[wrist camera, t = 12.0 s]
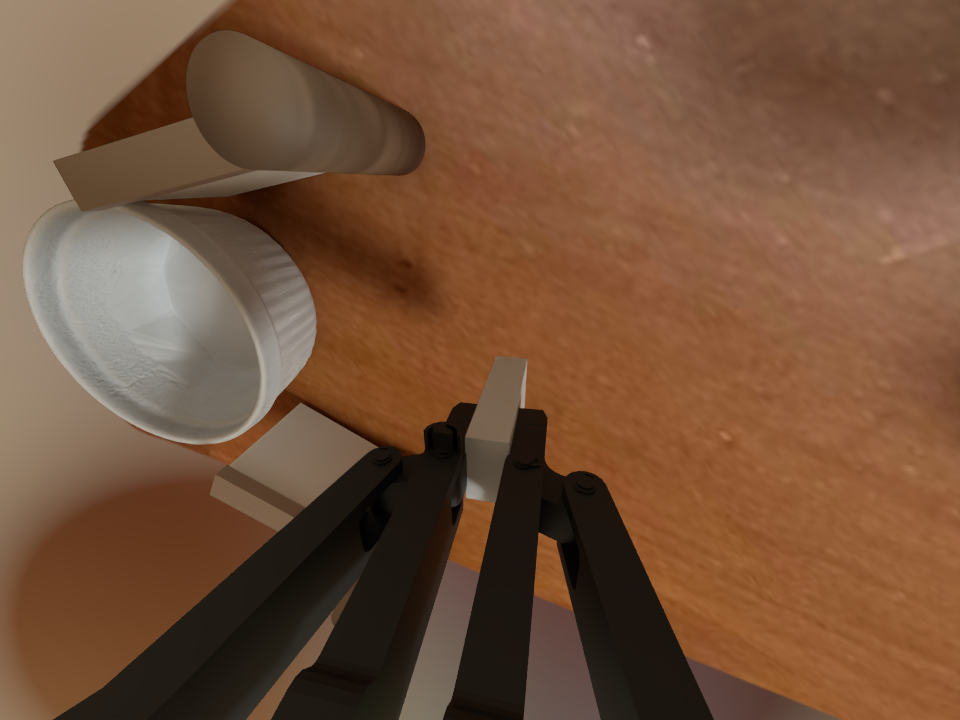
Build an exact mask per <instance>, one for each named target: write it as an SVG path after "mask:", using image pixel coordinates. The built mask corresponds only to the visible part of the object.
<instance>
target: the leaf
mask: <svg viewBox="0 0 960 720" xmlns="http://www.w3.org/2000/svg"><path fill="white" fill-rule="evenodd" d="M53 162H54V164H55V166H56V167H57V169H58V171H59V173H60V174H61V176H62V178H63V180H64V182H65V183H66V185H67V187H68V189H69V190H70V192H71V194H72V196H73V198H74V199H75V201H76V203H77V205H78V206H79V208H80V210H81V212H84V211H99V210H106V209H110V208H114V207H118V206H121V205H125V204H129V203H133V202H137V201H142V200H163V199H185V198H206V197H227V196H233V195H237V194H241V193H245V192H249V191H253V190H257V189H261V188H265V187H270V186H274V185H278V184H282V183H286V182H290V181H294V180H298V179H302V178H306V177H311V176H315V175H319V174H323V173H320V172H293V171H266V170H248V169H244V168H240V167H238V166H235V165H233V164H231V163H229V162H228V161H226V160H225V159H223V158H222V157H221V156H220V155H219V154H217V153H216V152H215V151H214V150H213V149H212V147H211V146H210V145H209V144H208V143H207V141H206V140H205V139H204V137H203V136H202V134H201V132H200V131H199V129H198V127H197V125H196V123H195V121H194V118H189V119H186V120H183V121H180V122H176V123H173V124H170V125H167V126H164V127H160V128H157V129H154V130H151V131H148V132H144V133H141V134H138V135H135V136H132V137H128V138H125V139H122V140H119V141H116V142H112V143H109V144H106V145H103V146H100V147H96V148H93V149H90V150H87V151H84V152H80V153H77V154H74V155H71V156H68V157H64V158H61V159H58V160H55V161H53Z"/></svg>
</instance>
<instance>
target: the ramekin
mask: <svg viewBox="0 0 960 720" xmlns="http://www.w3.org/2000/svg"><path fill="white" fill-rule="evenodd" d="M22 269H23V281H24V286H25V292H26V296H27V299H28V303H29V306H30V309H31V311H32V314H33V316H34V319H35V321H36V323H37V325H38V327H39V329H40V331H41V333H42V335H43V337H44V338H45V340H46V342H47V344H48V345H49V347H50V348H51V350H52V351H53V353H54V354H55V355H56V357H57V358H58V360H59V361H60V362H61V363H62V365H63V366H64V367H65V369H66V370H67V371H68V372H69V373H70V374H71V375H72V376H73V377H74V379H75V380H76V381H77V382H78V383H79V384H80V385H81V386H82V387H83V388H84V389H85V390H87V392H88V393H90V394H91V395H92V396H93V397H94V398H95V399H97V400H98V401H99V402H100V403H101V404H103V405H104V406H105V407H107V408H108V409H109V410H111V411H112V412H114V413H115V414H117V415H118V416H120V417H121V418H123V419H125V420H126V421H128V422H129V423H131V424H133V425H135V426H137V427H139V428H141V429H143V430H145V431H147V432H150V433H152V434H155V435H157V436H160V437H163V438H166V439H169V440H173V441H177V442H182V443H189V444H215V443H221V442H225V441H228V440H231V439H233V438H236V437H237V436H239V435H241V434H243V433H244V432H245V431H247V430H248V429H249V428H251V427H252V426H254V425H255V424H256V423H257V422H259V421H260V420H261V419H262V418H263V417H264V416H265V415H266V414H267V413H268V411H269V410H270V408H271V407H272V405H273V403H274V401H275V399H276V397H277V396H278V395H279V394H280V393H281V392H282V391H283V390H284V389H285V388H286V387H287V386H288V385H289V384H290V382H291V381H292V380H293V379H294V378H295V377H296V376H297V374H298V373H299V372H300V370H301V369H302V368H303V367H304V365H305V364H306V362H307V360H308V358H309V357H310V355H311V353H312V348H313V346H314V343H315V336H316V323H317V321H316V314H315V307H314V303H313V298H312V296H311V293H310V290H309V287H308V285H307V283H306V281H305V279H304V277H303V275H302V273H301V272H300V270H299V269H298V267H297V265H296V264H295V263H294V261H293V260H292V259H291V257H290V256H289V255H288V253H287V252H285V250H284V249H283V248H282V247H281V246H280V245H279V244H278V243H277V242H275V241H274V240H273V239H272V238H271V237H270V236H269V235H268V234H266V233H265V232H263V231H262V230H261V229H259V228H258V227H256V226H255V225H253V224H251V223H249V222H248V221H246V220H244V219H242V218H239V217H237V216H234V215H232V214H229V213H225V212H222V211H219V210H214V209H208V208H202V207H194V206H184V205H170V204H154V203H147V202H144V201H137V202H133V203H129V204H125V205H121V206H118V207H114V208H110V209H106V210H99V211H84V212H81V210H80V208H79V206H78V205H77V203H76V201H75V200H70V201H66V202H63V203H61V204H58V205H55V206H54V207H52V208H50V209H49V210H47V211H46V212H45V213H44V214H43V215H42V216H41V217H40V218H39V219H38V220H37V221H36V223H35V224H34V225H33V227H32V229H31V230H30V232H29V234H28V237H27V240H26V243H25V246H24V251H23V264H22Z"/></svg>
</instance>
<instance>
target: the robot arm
mask: <svg viewBox="0 0 960 720" xmlns="http://www.w3.org/2000/svg"><path fill="white" fill-rule="evenodd" d="M526 373H527V358H515V357H503V356H496V359H495V361H494V364H493V366H492V369H491V371H490V374H489V377H488V379H487V382H486V384H485V387H484V389H483V392H482V395H481V397H480V400H479V402H478V404H471V403H462V402H460V403H459V404H458V405H456V406H455V407H454V408H453V409H452V411H451V413H450V415H449V417H448V419H447V421H446V422H437V423H433V424H431V425H429V426H427V427H426V428H425V430H424V441H425V451H424V453H422V454H419V455H414V456H403V457H402V454H401V452H400V451H399V450H398V449H396V448H395V447H390V446H383V447H378V448H375V449H372V450H371V451H369V452H368V453H367V454H365V455H364V456H363V457H362V458H361V459H360V460H359V461H358V462H356V463H355V464H354V465H353V466H352V467H351V468H350V469H349V470H347V471H346V472H345V473H344V474H343V475H342V476H341V477H340V478H338V479H337V480H336V481H335V482H334V483H333V484H332V485H331V486H329V487H328V488H327V489H326V490H325V491H324V492H323V493H322V494H320V495H319V496H318V497H317V498H316V499H315V500H314V501H313V502H311V503H310V504H309V505H308V506H307V507H306V508H305V509H304V510H302V511H301V512H300V513H299V514H298V515H297V516H296V517H295V518H293V519H292V520H291V521H290V522H289V523H288V524H287V525H286V526H284V527H283V528H282V529H281V530H280V531H279V532H278V533H277V534H276V535H274V536H273V537H272V538H271V539H270V540H269V541H268V542H266V543H265V544H264V545H263V546H262V547H261V548H260V549H259V550H257V551H256V552H255V553H254V554H253V555H252V556H251V557H250V558H249V559H247V560H246V561H245V562H244V563H243V564H242V565H241V566H239V567H238V568H237V569H236V570H235V571H234V572H233V573H231V574H230V575H229V576H228V577H227V578H226V579H225V580H224V581H222V582H221V583H220V584H219V585H218V586H217V587H216V588H215V589H214V590H212V591H211V592H210V593H209V594H208V595H207V596H206V597H204V598H203V599H202V600H201V601H200V602H199V603H198V604H197V605H196V606H194V607H193V608H192V609H191V610H190V611H189V612H188V613H186V614H185V615H184V616H183V617H182V618H181V619H180V620H179V621H177V622H176V623H175V624H174V625H173V626H172V627H171V628H170V629H168V630H167V631H166V632H165V633H164V634H163V635H162V636H161V637H159V639H157V640H156V641H155V642H154V643H153V644H152V645H150V646H149V647H148V648H147V649H146V650H145V651H144V652H143V653H142V654H140V655H139V656H138V657H137V658H136V659H135V660H134V661H132V662H131V663H130V664H129V665H128V666H127V667H126V668H125V669H123V670H122V671H121V672H120V673H119V674H118V675H117V676H116V677H114V678H113V679H112V680H111V681H110V682H109V683H108V684H107V685H105V686H104V687H103V688H102V689H100V690H99V691H97V692H96V693H94V694H92V695H91V696H89V697H88V698H86V699H85V700H83V701H81V702H80V703H79V704H77V705H76V706H74V707H72V708H71V709H69V710H67V711H66V712H64V713H63V714H61V715H60V716H58V717H56V718H55V719H53V720H246V719H247V718H248V716H249V715H250V714H251V713H252V711H253V710H254V709H255V707H256V706H257V705H258V704H259V702H260V701H261V700H262V699H263V697H264V696H265V695H266V694H267V692H268V691H269V690H270V689H271V687H272V686H273V685H274V684H275V682H276V681H277V680H278V679H279V677H280V676H281V675H282V673H283V672H284V671H285V669H287V667H288V666H289V665H290V663H291V662H292V661H293V660H294V659H295V657H296V656H297V655H298V653H299V652H300V651H301V650H302V648H303V647H304V646H305V645H306V643H307V642H308V641H309V640H310V638H311V637H312V636H313V635H314V633H315V632H316V631H317V630H318V628H319V627H320V626H321V625H322V623H323V622H324V621H325V620H326V618H327V617H328V616H329V615H330V613H331V612H332V611H333V610H334V608H335V607H336V606H337V605H338V603H339V602H340V601H341V599H342V598H343V597H344V596H345V594H346V593H347V592H348V591H349V589H350V588H351V587H352V586H353V584H354V583H355V582H356V581H357V579H358V578H359V577H360V578H359V580H358V582H357V584H356V585H355V587H354V589H353V591H352V593H351V595H350V597H349V599H348V601H347V603H346V605H345V607H344V609H343V611H342V613H341V615H340V617H339V619H338V621H337V623H336V624H335V626H334V628H333V630H332V632H331V634H330V636H329V638H328V640H327V642H326V644H325V646H324V648H323V650H322V652H321V654H320V656H319V657H318V659H317V661H316V662H315V663H314V664H313V665H312V666H311V667H309V668H306V669H303V670H302V671H301V672H300V673H299V674H298V675H297V676H296V677H295V678H294V680H293V682H292V683H291V685H290V686H289V688H288V689H287V691H286V693H285V695H284V697H283V698H282V701H281V702H280V704H279V706H278V708H277V710H276V711H275V713H274V715H273V717H272V719H271V720H399V716H400V713H401V710H402V707H403V704H404V700H405V697H406V694H407V690H408V687H409V684H410V681H411V677H412V674H413V671H414V668H415V664H416V661H417V658H418V655H419V651H420V648H421V645H422V642H423V638H424V635H425V631H426V629H427V625H428V622H429V619H430V615H431V612H432V609H433V606H434V602H435V599H436V596H437V593H438V589H439V586H440V583H441V580H442V576H443V573H444V570H445V567H446V563H447V560H448V557H449V553H450V550H451V547H452V544H453V540H454V537H455V534H456V531H457V527H458V524H459V521H460V518H461V514H462V511H463V496H464V493H465V490H466V498H469V499H476V500H482V501H489V502H495V507H494V512H493V516H492V521H491V525H490V530H489V534H488V539H487V543H486V548H485V552H484V557H483V561H482V566H481V570H480V575H479V580H478V584H477V589H476V593H475V598H474V602H473V607H472V611H471V616H470V620H469V625H468V629H467V634H466V638H465V643H464V647H463V652H462V657H461V661H460V666H459V670H458V675H457V679H456V684H455V688H454V692H453V696H452V699H451V702H450V703H449V705H448V706H447V709H446V712H445V714H444V718H443V720H523V716H524V705H525V693H526V680H527V668H528V667H527V666H528V656H529V642H530V630H531V619H532V618H531V617H532V606H533V594H534V582H535V569H536V557H537V545H538V532H539V533H542V534H544V535H546V536H548V537H550V538H552V539H554V540H556V541H557V547H558V551H559V555H560V559H561V563H562V567H563V571H564V575H565V579H566V583H567V587H568V591H569V595H570V599H571V603H572V607H573V611H574V615H575V619H576V623H577V627H578V630H579V635H580V638H581V642H582V646H583V650H584V654H585V658H586V662H587V666H588V670H589V674H590V678H591V682H592V686H593V690H594V694H595V698H596V702H597V706H598V710H599V714H600V718H601V720H714V719H713V717H712V715H711V713H710V710H709V708H708V706H707V704H706V702H705V699H704V697H703V695H702V693H701V691H700V688H699V686H698V684H697V682H696V680H695V678H694V675H693V674H692V671H691V669H690V667H689V665H688V662H687V660H686V658H685V656H684V654H683V651H682V649H681V647H680V645H679V643H678V641H677V638H676V636H675V634H674V632H673V630H672V627H671V625H670V623H669V621H668V619H667V617H666V614H665V612H664V610H663V608H662V606H661V604H660V601H659V599H658V597H657V595H656V593H655V590H654V588H653V586H652V584H651V582H650V580H649V577H648V575H647V573H646V571H645V569H644V567H643V564H642V562H641V560H640V558H639V556H638V553H637V551H636V549H635V547H634V545H633V543H632V540H631V538H630V536H629V534H628V532H627V530H626V527H625V525H624V523H623V521H622V519H621V516H620V514H619V512H618V510H617V508H616V506H615V503H614V501H613V499H612V497H611V495H610V493H609V490H608V488H607V486H606V484H605V483H604V482H603V480H602V479H601V478H599V477H598V476H596V475H595V474H592V473H589V472H585V471H576V472H572V473H570V474H568V475H567V476H566V477H565V476H563V475H560V474H558V473H556V472H554V471H553V470H551V469H550V468H549V467H548V466H547V464H546V462H545V457H544V456H545V443H546V430H547V416H546V415H545V413H544V411H543V410H535V409H526V408H524V407H525V391H526Z"/></svg>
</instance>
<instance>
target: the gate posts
mask: <svg viewBox="0 0 960 720" xmlns="http://www.w3.org/2000/svg"><path fill="white" fill-rule="evenodd" d="M186 91H187V98H188V102H189V107H190V110H191V113H192V116H193V118H194V121H195V123H196V125H197V127H198V129H199V131H200V132H201V134H202V136H203V137H204V139H205V140H206V141H207V143H208V144H209V145H210V146H211V147H212V149H213V150H214V151H215V152H216V153H217V154H219V155H220V156H221V157H222V158H223V159H225V160H226V161H228V162H229V163H231V164H233V165H235V166H238V167H240V168H244V169H248V170H266V171H293V172H320V173H347V174H374V175H406V174H409V173H411V172H413V171H414V170H415V169H416V168H417V167H418V166H419V164H420V163H421V161H422V159H423V156H424V152H425V137H424V133H423V130H422V128H421V126H420V124H419V122H418V121H417V120H416V118H415V117H414V116H413V115H411V114H410V113H409V112H407V111H405V110H403V109H401V108H398V107H396V106H394V105H392V104H390V103H388V102H386V101H384V100H382V99H380V98H377V97H375V96H373V95H371V94H369V93H367V92H365V91H363V90H361V89H359V88H356V87H354V86H352V85H350V84H348V83H346V82H344V81H342V80H340V79H338V78H335V77H333V76H331V75H329V74H327V73H325V72H323V71H321V70H319V69H317V68H314V67H312V66H310V65H308V64H306V63H304V62H302V61H300V60H298V59H295V58H293V57H291V56H289V55H287V54H285V53H283V52H281V51H279V50H277V49H274V48H272V47H270V46H268V45H266V44H264V43H262V42H260V41H258V40H256V39H253V38H251V37H249V36H247V35H245V34H242V33H240V32H236V31H231V30H222V31H216V32H213V33H211V34H209V35H207V36H206V37H204V38H203V39H202V40H201V41H200V42H199V43H198V44H197V46H196V47H195V48H194V50H193V52H192V54H191V56H190V59H189V62H188V67H187V73H186ZM359 578H360V577H359ZM359 578H358V579H357V581H356V582H355V583H354V584H353V586H352V587H351V588H350V589H349V591H348V592H347V593H346V594H345V596H344V597H343V598H342V599H341V601H340V602H339V603H338V605H337V606H336V607H335V609H334V611H333V613H332V615H331V619H332V623H333V625H334V626H335V624H336V623H337V621H338V619H339V617H340V615H341V613H342V611H343V609H344V607H345V605H346V603H347V601H348V599H349V597H350V595H351V593H352V591H353V589H354V587H355V585H356V584H357V582H358V580H359Z"/></svg>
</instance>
